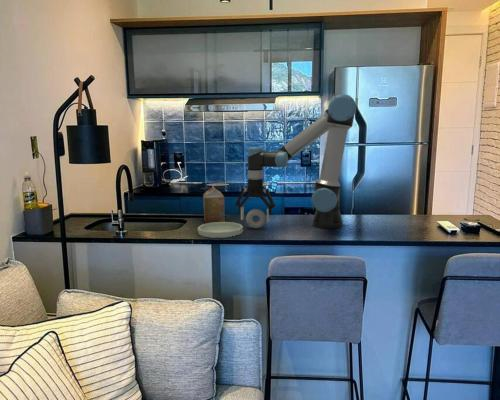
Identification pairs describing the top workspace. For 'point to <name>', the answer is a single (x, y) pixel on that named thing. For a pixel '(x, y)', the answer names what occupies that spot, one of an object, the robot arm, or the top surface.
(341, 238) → the top surface
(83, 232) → the top surface
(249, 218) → the donut
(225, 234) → the plate
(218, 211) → the milk carton
